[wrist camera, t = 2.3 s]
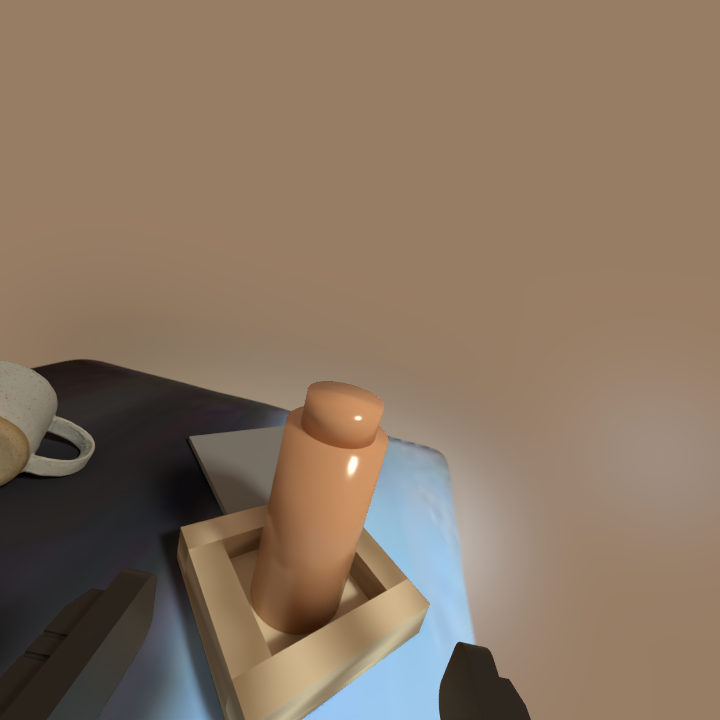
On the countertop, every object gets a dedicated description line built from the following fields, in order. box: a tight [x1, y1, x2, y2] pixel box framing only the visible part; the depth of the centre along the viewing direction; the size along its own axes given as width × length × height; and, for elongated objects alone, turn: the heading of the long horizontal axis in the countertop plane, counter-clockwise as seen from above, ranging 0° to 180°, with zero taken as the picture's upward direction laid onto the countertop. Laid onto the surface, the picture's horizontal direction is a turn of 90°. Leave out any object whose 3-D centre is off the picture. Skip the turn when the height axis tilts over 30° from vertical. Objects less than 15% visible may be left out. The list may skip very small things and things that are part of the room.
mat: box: [189, 426, 285, 516], centre depth 36 cm, size 12×12×1 cm
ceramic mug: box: [0, 360, 95, 486], centre depth 27 cm, size 11×8×8 cm
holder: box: [177, 504, 430, 720], centre depth 23 cm, size 12×12×2 cm
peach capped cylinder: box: [251, 381, 389, 635], centre depth 22 cm, size 7×6×14 cm
